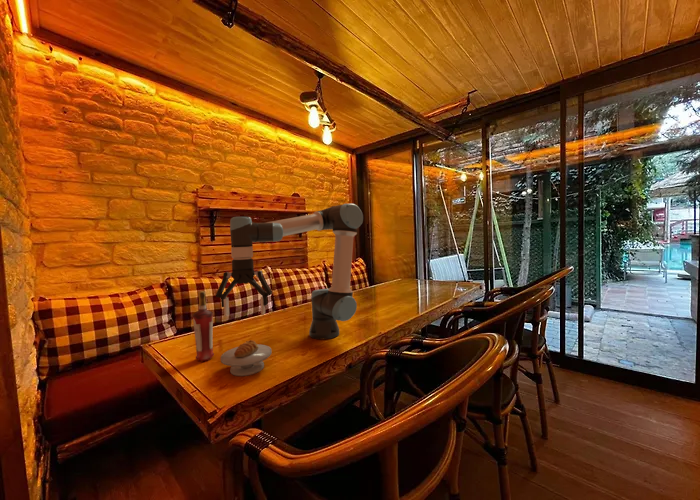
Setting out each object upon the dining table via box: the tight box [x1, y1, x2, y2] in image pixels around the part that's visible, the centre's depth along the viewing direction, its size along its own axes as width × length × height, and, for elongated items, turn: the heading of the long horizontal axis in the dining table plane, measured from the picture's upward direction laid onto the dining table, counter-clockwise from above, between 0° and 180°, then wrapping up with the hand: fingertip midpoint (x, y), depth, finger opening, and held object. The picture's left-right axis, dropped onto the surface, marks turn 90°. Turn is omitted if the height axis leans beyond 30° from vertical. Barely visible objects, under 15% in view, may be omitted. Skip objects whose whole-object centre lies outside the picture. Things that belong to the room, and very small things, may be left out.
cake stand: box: [220, 343, 272, 377], centre depth 109 cm, size 18×18×6 cm
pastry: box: [234, 339, 258, 357], centre depth 108 cm, size 9×7×4 cm
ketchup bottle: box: [192, 291, 215, 362], centre depth 119 cm, size 7×7×28 cm
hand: (245, 314), depth 108 cm, fingers open, 13 cm apart
